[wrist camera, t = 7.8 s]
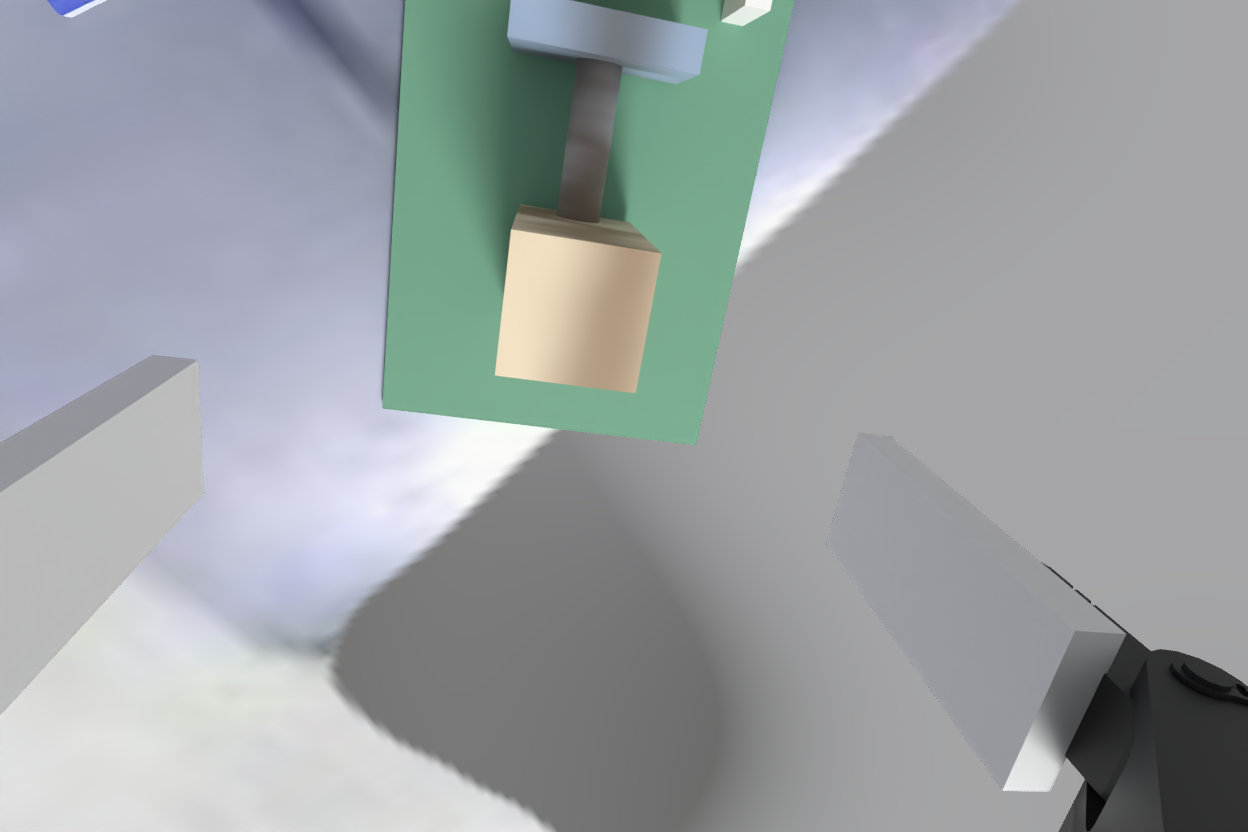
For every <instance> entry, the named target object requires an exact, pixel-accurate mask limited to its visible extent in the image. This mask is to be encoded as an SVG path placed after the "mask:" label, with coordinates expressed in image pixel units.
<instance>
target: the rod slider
mask: <svg viewBox="0 0 1248 832" xmlns="http://www.w3.org/2000/svg"><path fill="white" fill-rule="evenodd" d="M707 32H708V29H704V28H699V27H694V26H690V25H685V24H680V23H676V22H671V21H666V20H661V19H657V18H652V17H647V16H643V15H638V14H633V13H628V12H624V11H619V10H614V9H610V8H605V7H600V6H595V5H591V4H586V3H581V2H577V1H572V0H511V3H510V13H509V23H508V33H507V37H508V40H509V43H510V45H511V48H512V51H513V52H516V53H521V54H526V55H531V56H536V57H541V58H546V59H551V60H556V61H561V62H566V63H571V64H576V72H575V80H574V87H573V95H572V102H571V110H570V117H569V125H568V132H567V140H566V148H565V155H564V163H563V170H562V178H561V185H560V193H559V200H558V208H557V210H553V209H547V208H541V207H535V206H529V205H523V204H520V205H519V208H518V211H517V214H516V217H515V220H514V223H513V225H512V228H511V235H510V244H509V253H508V262H507V271H506V280H505V289H504V298H503V307H502V316H501V325H500V334H499V342H498V351H497V360H496V369H495V376H503V377H511V378H519V379H527V380H535V381H542V382H550V383H558V384H566V385H574V386H582V387H590V388H598V389H605V390H613V391H621V392H629V393H636V389H637V383H638V378H639V372H640V367H641V362H642V356H643V351H644V345H645V340H646V335H647V329H648V324H649V318H650V313H651V308H652V302H653V297H654V291H655V286H656V280H657V275H658V270H659V264H660V259H661V252H660V251H659V250H658V249H657V248H656V247H654V246H653V245H652V244H651V243H650V242H649V241H648V240H647V239H646V238H645V237H644V236H643V235H642V234H641V233H640V232H639V231H638V230H637V229H636V228H635V227H634V226H633V225H632V224H631V223H630V222H626V221H620V220H614V219H607V218H601V217H600V212H601V206H602V199H603V193H604V186H605V180H606V173H607V166H608V160H609V153H610V147H611V140H612V134H613V127H614V121H615V114H616V108H617V101H618V94H619V88H620V81H621V75H622V74H627V75H632V76H637V77H642V78H647V79H652V80H657V81H662V82H667V83H672V84H678V83H680V82H683V81H685V80H688V79H690V78H693V77H695V76H698V75H700V70H701V64H702V59H703V54H704V48H705V43H706V38H707Z"/></svg>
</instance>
